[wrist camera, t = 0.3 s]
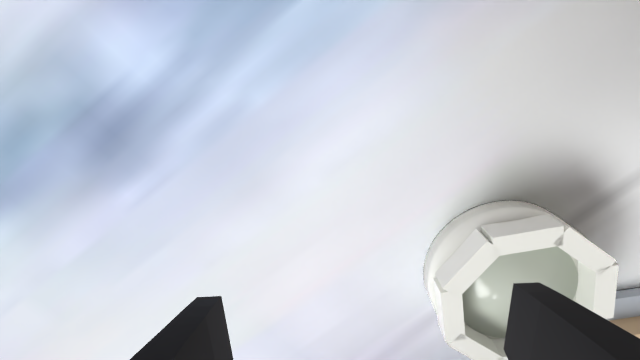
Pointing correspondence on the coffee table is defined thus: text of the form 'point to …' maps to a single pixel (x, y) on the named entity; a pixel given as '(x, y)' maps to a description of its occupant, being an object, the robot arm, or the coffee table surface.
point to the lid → (629, 325)
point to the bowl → (509, 271)
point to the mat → (627, 304)
